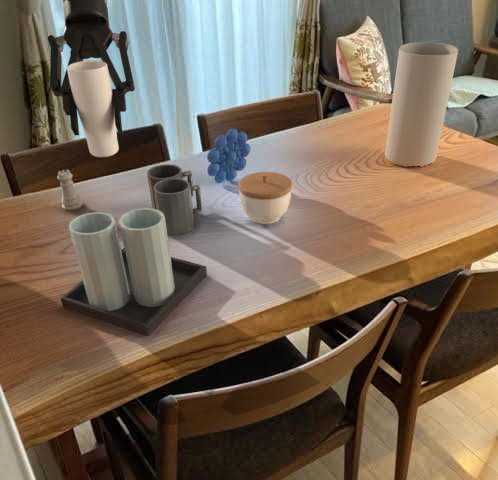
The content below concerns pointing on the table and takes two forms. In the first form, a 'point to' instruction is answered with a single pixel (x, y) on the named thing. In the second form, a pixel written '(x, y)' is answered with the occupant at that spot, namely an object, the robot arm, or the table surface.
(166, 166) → the grey mug far
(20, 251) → the table surface
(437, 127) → the cylinder vase
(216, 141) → the grapes
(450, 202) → the table surface
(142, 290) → the tumbler
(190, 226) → the grey mug near
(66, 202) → the rook chess piece
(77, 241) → the tumbler
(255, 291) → the table surface
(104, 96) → the drinking glass
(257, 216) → the trinket box
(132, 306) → the tray
